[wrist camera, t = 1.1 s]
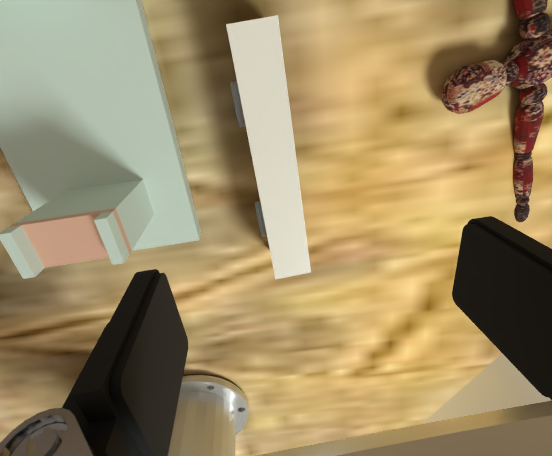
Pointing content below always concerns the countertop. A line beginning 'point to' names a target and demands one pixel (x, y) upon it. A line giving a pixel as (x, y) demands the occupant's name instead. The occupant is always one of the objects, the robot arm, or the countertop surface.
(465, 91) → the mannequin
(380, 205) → the countertop surface
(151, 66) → the display stand
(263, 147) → the cream rectangular beam
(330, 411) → the countertop surface
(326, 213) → the countertop surface
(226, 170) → the countertop surface
